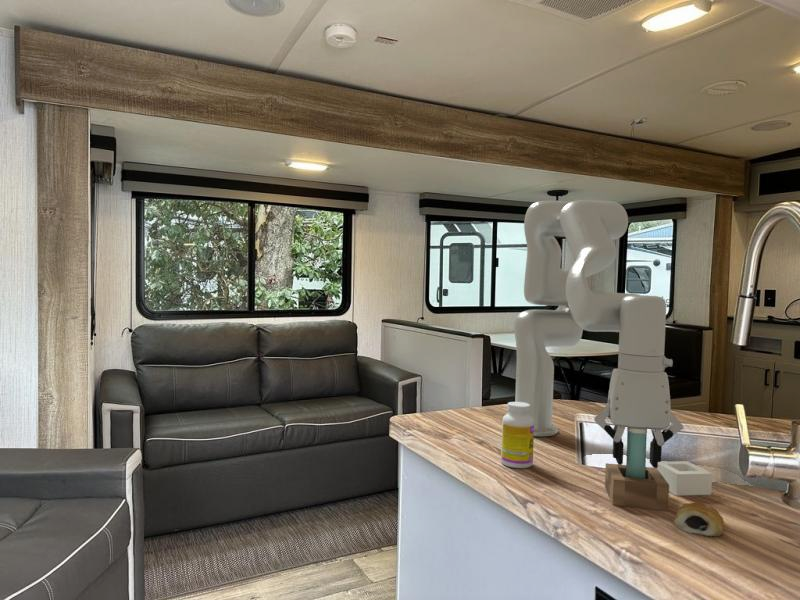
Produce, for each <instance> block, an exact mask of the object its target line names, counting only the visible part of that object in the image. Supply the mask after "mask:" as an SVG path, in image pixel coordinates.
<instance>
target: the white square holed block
mask: <svg viewBox="0 0 800 600" xmlns="http://www.w3.org/2000/svg"><path fill="white" fill-rule="evenodd" d="M657 469H658V471H659V472H660V473H661V475H662V476H663V477H664V479H665V480H666V481H667V483H668V484H669V493H672V494H673V495H675V496H676V497H677V496H678V497H679V496H682V497H683V496H711V495H712V488H713V487H712V483H713V473H712V472H710V471H708V470H706V469H704V468H702V467H700V466H698V465H697V464H693V463H692V462H690V461H689V460H685V461H684V460H683V461H682V460H681V461H680V460H679V461H678V460H677V461H672V460H671V461H661V462H658V468H657Z"/></svg>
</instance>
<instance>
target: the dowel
mask: <svg viewBox="0 0 800 600" xmlns="http://www.w3.org/2000/svg"><path fill="white" fill-rule="evenodd" d="M626 431H627V432H626V433H627V435H626V436H627V437H626V463H625V465H626V477H630V478H640V479H645V468H646V467H647V466H646V462H647V439H648V438H647V436H648V429H646V428H633V427H626Z"/></svg>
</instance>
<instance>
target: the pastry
mask: <svg viewBox="0 0 800 600" xmlns="http://www.w3.org/2000/svg"><path fill="white" fill-rule="evenodd" d="M723 518H724V517H723V516H722V515H721V514H720V513H719V511H718V510H717V509H716V508H714V507H713V506H710V505H707V504H705V503H704V502H703V503H702V502H687V503H686V502H685V503H683V504H682V505H681V506H680V507H678V508H677V509H676V513H675V519H674V520H673V522H674V525H675V527H676V528H677V529H678V530H680V531H683V532H686V533H690V534H696V535H700V536H704V537H708V536H711V538H712V536H717V537H719V536H722V534H723V532H724V531H725V521H724V519H723Z"/></svg>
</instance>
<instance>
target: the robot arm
mask: <svg viewBox="0 0 800 600" xmlns="http://www.w3.org/2000/svg"><path fill="white" fill-rule="evenodd" d="M523 224H524V225H523V226H524V227H523V229H524V237H525V242H526V251H527V252H526V263H525V272H524V280H523V281H524V283H523V295H524V299H525V301H526V302H527V303H529V304H532V305H535V306H536V305H537V306H553V307H555V306H559V307H560V306H561V309H560V310H556V309H554V310H553V309H528V310H524V311H521V312H519V313H518V314H517V316H516V317H515V319H514V323H513V328H514V330H513V331H514V338H515V346H516V365H515V366H516V373H515V398H514V399H515V400H514V402H523V403H528V404H530V411H529V416H531V417H532V418H533V420H534V437H551V436H554V435H556V434H558V432H559V428H558V426H556V425H555V424H553V408H554V407H553V403H554V380H555V379H554V378H555V376H554V375H555V364H554V360H553V358H552V357H551V355H550V354H549V352H548V351H547V349H546V348H548V347H550V348H551V347H560V348H561V347H566V348H567V347H573V346H577V345H578V344H579V342H580V341H581V339H582V336H583V331H587V332H595V333H596V332H597V333H598V332H605V333H606V332H612V333H614V332H615V333H619V335H618V336H619V337H618V360H617V361H618V363H617V368H613V369H612V373H611V376H610V379H609V380H610V381H609V389H608V395H607V397H608V398H607V405H606V406H605V407H604V408H603V409H602V410H601V411H599V413H598V414H597V415H596V416H595V417H594V422H595V423H596V424H597V425H598V426H599V427H601V429H603V430H604V431H605V433H607V435H609V437H611V439H612V458H614V459H615V460H616V464H619V465H624V442H623V435H624V433H625V429H626V428H627V427H633V428H646V429H647V430H648V429H649V430H650V431H651V434H652V440H651V441H650V443H649V446H650V447H649V464H650V465H651V466H652V468H658V462H662V446H664V445H665V443H666V442H667V441H669V440H670V439H672V437H673V436H674V435H676V434H678V433H680V432H681V431H683V429H684V425H683V424H682V422H680V420H679V419H678V418H677V417H676V415H675V414H674V413H673V412H672V410H671V409H672V408H671V394H670V385H669V384H670V383H669V382H670V381H669V377H668V374H667V372H666V371H665V369H666V368H668V367H671V368H672V367H673V363H674V361H673V359H672V358H670V359H669V358H667V357H666V356H665V342H666V324H667V323H666V320H667V319H666V318H667V303H666V301H665V299H664V298H663V297H662V296H657V295H642V294H636V293H628V292H627V293H625V292H603V291H602V292H601V291H600V292H597V291H596V292H594V291H592V290H591V289H590V286H589V284H588V281H587V278H588V277H590V276H592V275H595V274H598V273H600V272H602V271H604V270H605V269H607V268H608V267H610V266H611V265H612V264H613V263H614V261H615V260H616V258H617V254H618V251H617V247H616V245H615V243H614V240H618V239H620V238H621V237H623V236H624V235H625V233H626V232H627V229H628V226H629V217H628V213H627V211H626V209H625V208H624V206H623V205H622V204H620V203H619V202H616V201H610V200H609V201H608V200H596V199H592V200H591V199H579V200H578V199H576V200H573V201H568V200H567V201H566V200H539V201H536V202H534V203H531V205H530V206H529V207H528V208H527V210H526V213H525V215H524V223H523ZM555 237H563V238H564V237H565V239H566V241H567V243H568V244H567V245H568V246H569V249H570V251H571V255H572V258H573V260H574V263H573V265H571V268H569V269H568V268H561V265H562V264H561V263H562V249H561V246H560V244H559V241H558V240H557V239H556V238H555ZM607 418H608V419H609V420H610V422H611V424H612V425H614V426H613V427H612V426H611V425H610V424H609V423H608V422H607V421H606V420H607Z"/></svg>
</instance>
